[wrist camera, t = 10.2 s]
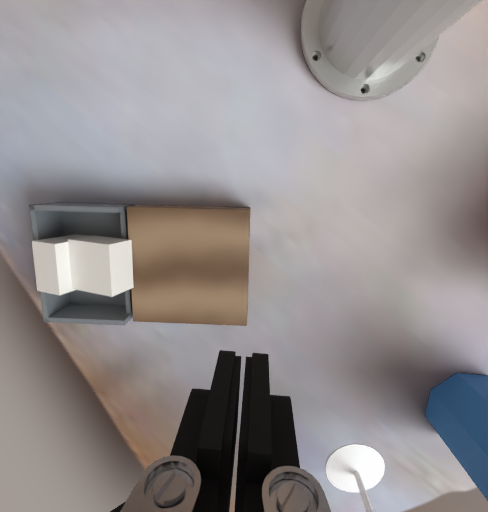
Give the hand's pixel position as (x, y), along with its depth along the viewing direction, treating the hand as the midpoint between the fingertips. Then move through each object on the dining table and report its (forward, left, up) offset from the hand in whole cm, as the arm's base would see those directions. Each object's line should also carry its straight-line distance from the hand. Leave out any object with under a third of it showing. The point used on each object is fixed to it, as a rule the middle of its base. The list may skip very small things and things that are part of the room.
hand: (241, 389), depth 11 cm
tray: (+1, -17, -24) cm, 30 cm away
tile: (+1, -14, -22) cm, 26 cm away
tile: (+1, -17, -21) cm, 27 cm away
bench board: (+1, -6, -24) cm, 25 cm away
